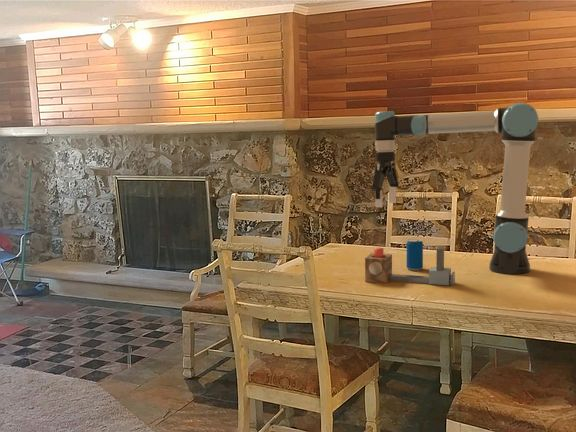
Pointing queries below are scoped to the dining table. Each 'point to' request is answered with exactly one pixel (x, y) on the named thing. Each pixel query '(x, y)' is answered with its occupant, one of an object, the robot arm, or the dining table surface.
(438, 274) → the carriage
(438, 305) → the dining table surface
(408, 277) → the rail
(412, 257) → the beverage can
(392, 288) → the dining table surface
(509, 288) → the dining table surface
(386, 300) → the dining table surface
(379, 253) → the gauge button
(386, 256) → the brown button box
